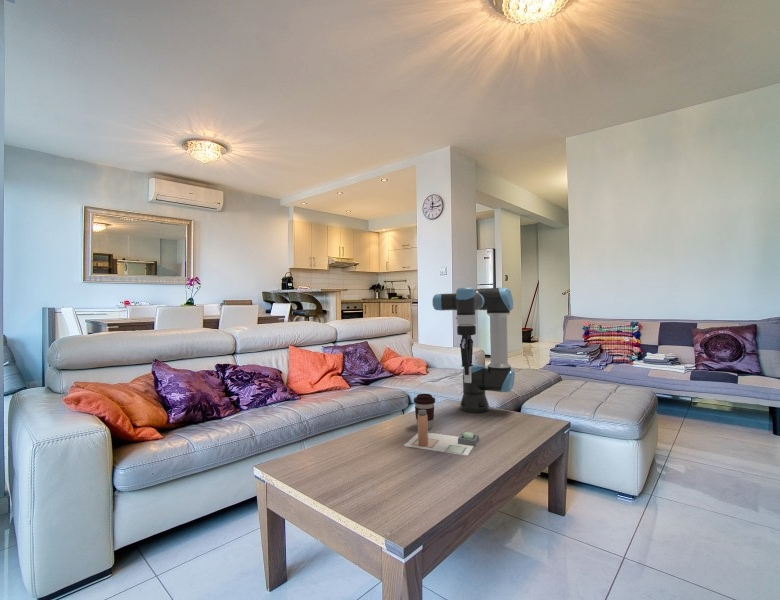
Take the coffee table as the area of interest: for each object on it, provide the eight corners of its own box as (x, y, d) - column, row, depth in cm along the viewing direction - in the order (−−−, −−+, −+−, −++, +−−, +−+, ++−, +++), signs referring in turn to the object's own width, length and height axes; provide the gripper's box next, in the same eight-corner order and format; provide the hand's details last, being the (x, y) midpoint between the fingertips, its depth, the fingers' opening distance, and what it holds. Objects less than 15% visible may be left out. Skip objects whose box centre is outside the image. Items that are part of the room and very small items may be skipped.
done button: (465, 439, 157) (464, 431, 157) (474, 440, 155) (474, 432, 156) (462, 442, 154) (462, 434, 154) (472, 443, 152) (472, 435, 152)
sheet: (419, 432, 168) (419, 431, 168) (478, 440, 157) (478, 439, 157) (403, 446, 152) (403, 445, 152) (467, 456, 141) (467, 455, 141)
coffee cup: (435, 424, 179) (434, 392, 179) (436, 431, 169) (435, 397, 169) (414, 424, 180) (413, 392, 180) (413, 431, 170) (413, 397, 170)
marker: (420, 442, 155) (419, 408, 155) (429, 443, 153) (428, 409, 154) (416, 445, 151) (416, 411, 152) (426, 446, 150) (425, 412, 150)
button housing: (462, 437, 159) (462, 433, 159) (479, 440, 156) (478, 435, 156) (457, 443, 153) (457, 438, 153) (475, 445, 150) (475, 440, 150)
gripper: (461, 324, 163) (462, 378, 163) (453, 326, 151) (454, 385, 151) (478, 324, 160) (480, 379, 160) (471, 326, 148) (473, 386, 148)
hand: (467, 382), depth 155 cm, fingers closed
